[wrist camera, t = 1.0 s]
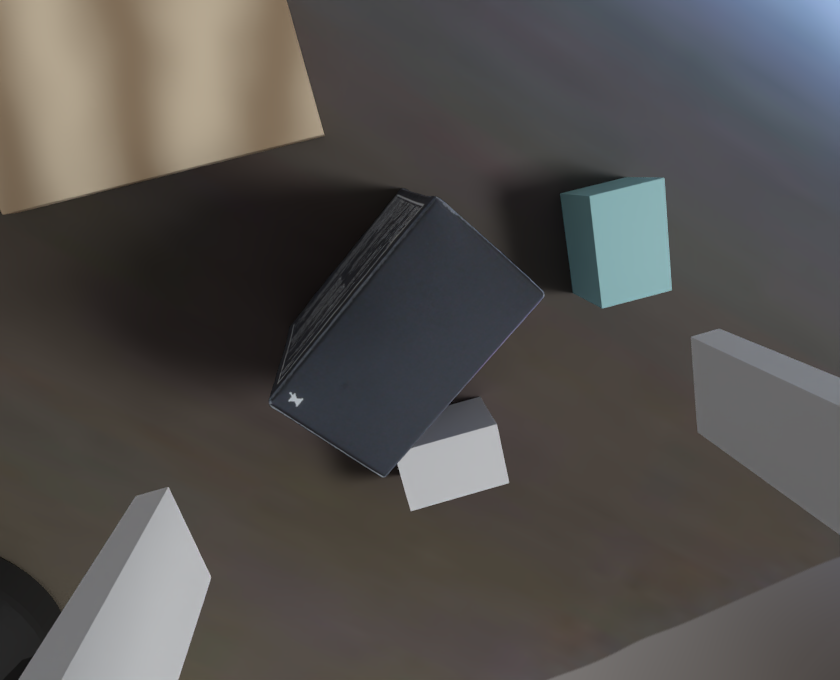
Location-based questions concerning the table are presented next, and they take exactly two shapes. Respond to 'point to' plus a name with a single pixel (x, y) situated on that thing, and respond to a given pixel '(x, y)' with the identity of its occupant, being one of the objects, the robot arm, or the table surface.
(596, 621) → the table surface
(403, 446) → the small box
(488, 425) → the grey block
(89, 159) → the oak board
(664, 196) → the teal block
